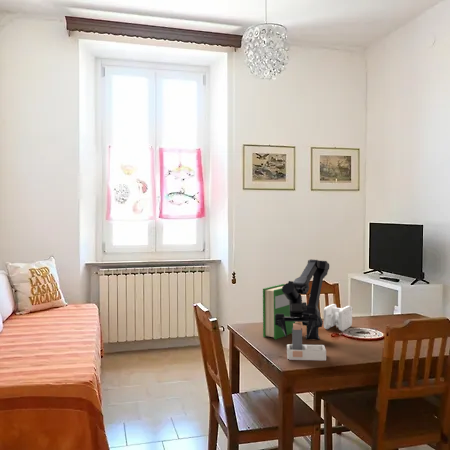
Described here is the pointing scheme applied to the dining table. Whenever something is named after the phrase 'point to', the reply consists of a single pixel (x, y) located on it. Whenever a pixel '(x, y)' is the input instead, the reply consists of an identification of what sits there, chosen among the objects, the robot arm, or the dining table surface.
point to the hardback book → (275, 311)
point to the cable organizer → (337, 317)
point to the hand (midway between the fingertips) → (297, 336)
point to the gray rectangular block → (296, 336)
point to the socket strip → (307, 352)
